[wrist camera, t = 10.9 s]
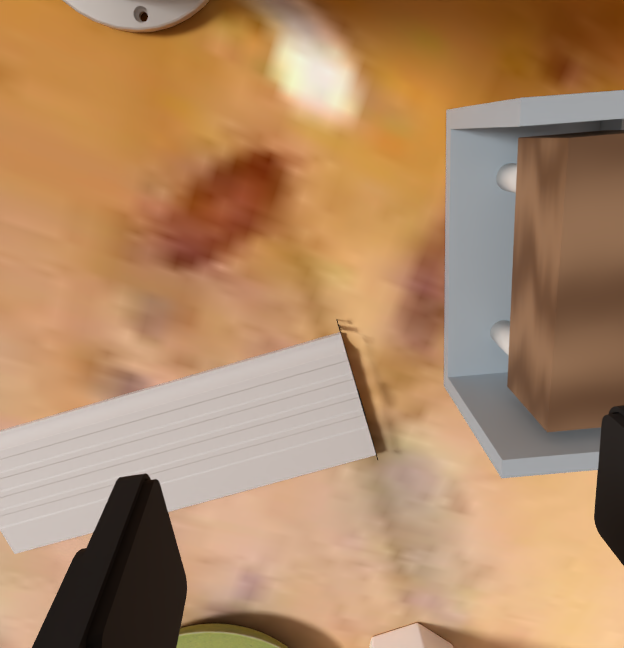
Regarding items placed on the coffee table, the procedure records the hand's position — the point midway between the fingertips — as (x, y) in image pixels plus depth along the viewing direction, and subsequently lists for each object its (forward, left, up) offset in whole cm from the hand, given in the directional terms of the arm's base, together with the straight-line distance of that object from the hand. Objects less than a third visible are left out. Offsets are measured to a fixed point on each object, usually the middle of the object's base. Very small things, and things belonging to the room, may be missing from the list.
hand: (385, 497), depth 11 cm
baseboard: (+14, -13, -29) cm, 35 cm away
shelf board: (+2, +14, -23) cm, 27 cm away
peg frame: (+2, +15, -28) cm, 32 cm away
